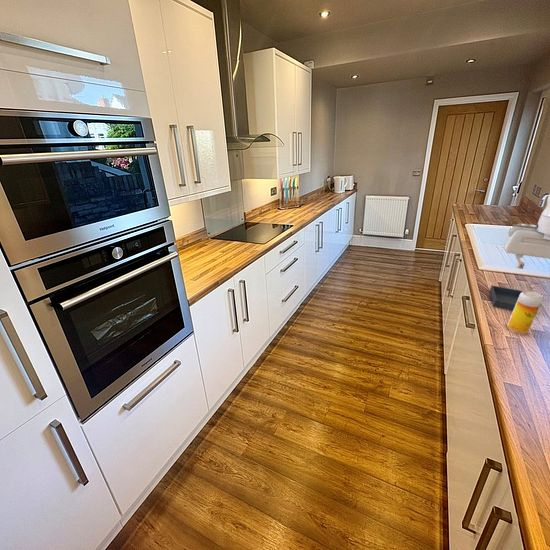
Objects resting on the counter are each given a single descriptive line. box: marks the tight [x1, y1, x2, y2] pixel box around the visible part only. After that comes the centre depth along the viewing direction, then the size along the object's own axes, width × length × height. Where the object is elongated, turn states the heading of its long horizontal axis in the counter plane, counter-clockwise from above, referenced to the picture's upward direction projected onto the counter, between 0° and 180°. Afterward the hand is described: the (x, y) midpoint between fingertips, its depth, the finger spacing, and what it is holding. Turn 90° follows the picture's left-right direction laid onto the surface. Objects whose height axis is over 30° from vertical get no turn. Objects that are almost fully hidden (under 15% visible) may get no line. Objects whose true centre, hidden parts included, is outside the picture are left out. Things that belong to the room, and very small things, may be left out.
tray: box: [489, 285, 523, 312], centre depth 124 cm, size 11×15×3 cm
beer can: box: [506, 290, 543, 335], centre depth 103 cm, size 6×6×15 cm
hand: (538, 270), depth 88 cm, fingers open, 8 cm apart
